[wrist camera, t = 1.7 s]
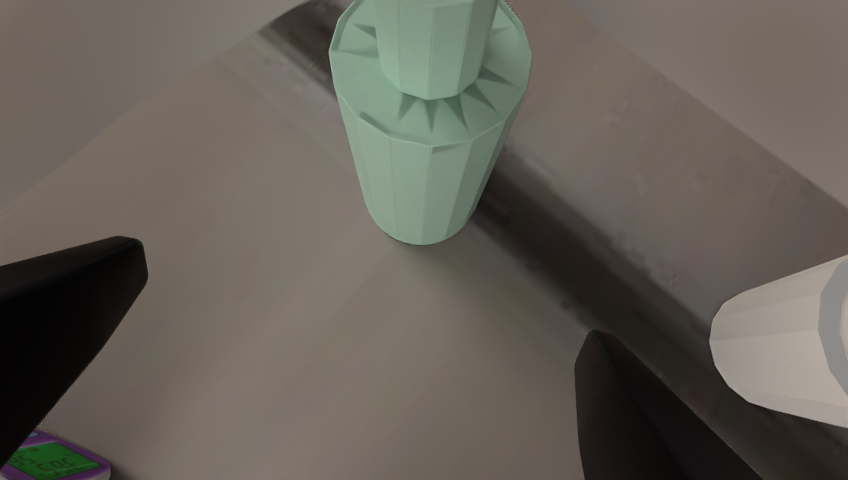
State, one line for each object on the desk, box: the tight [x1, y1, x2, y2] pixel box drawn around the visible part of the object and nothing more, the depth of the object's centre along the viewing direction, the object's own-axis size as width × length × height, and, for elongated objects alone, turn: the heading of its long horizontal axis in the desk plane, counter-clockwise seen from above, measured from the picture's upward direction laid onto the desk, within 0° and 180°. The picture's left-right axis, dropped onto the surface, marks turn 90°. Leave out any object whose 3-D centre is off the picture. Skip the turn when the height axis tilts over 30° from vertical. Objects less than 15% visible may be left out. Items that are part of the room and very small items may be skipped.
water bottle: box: [329, 0, 532, 245], centre depth 17 cm, size 6×6×14 cm
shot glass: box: [709, 255, 848, 428], centre depth 19 cm, size 7×7×7 cm
